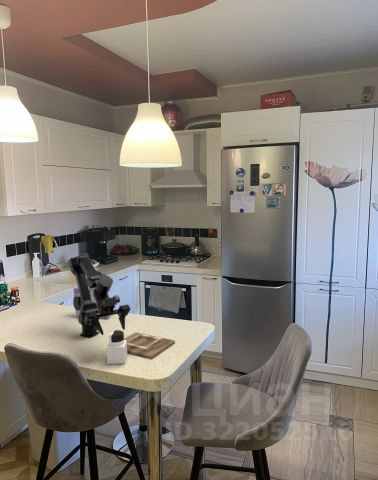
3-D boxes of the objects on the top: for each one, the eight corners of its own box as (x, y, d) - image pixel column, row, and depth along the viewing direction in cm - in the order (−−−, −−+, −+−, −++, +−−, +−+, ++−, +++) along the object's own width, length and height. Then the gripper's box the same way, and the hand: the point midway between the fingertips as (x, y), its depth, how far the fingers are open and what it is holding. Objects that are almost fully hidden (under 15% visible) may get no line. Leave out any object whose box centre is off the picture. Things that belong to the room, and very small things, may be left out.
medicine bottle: (127, 355, 158) (126, 328, 157) (125, 363, 151) (123, 335, 150) (110, 356, 158) (108, 328, 156) (107, 364, 151) (105, 335, 149)
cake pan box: (73, 318, 205) (71, 286, 203) (77, 315, 210) (75, 284, 208) (107, 320, 202) (106, 287, 200) (111, 316, 207) (109, 285, 205)
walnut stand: (110, 348, 166) (109, 343, 165) (135, 334, 181) (135, 329, 181) (151, 359, 155) (151, 353, 154) (174, 343, 170) (174, 338, 170)
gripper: (84, 293, 152) (95, 327, 145) (127, 285, 162) (140, 317, 155) (79, 307, 160) (90, 340, 152) (121, 299, 170) (132, 330, 162)
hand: (113, 332), depth 155 cm, fingers open, 9 cm apart
